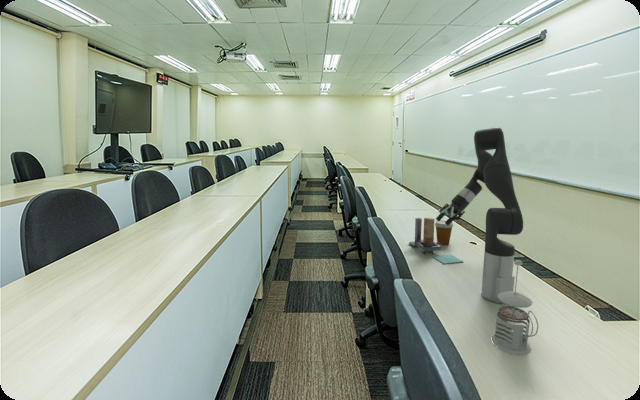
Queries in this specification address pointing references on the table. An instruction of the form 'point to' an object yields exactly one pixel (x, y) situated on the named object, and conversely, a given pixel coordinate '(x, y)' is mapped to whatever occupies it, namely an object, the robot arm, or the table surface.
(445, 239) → the disposable coffee cup
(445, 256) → the felt coaster
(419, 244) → the ring stand
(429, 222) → the walnut rod
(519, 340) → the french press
